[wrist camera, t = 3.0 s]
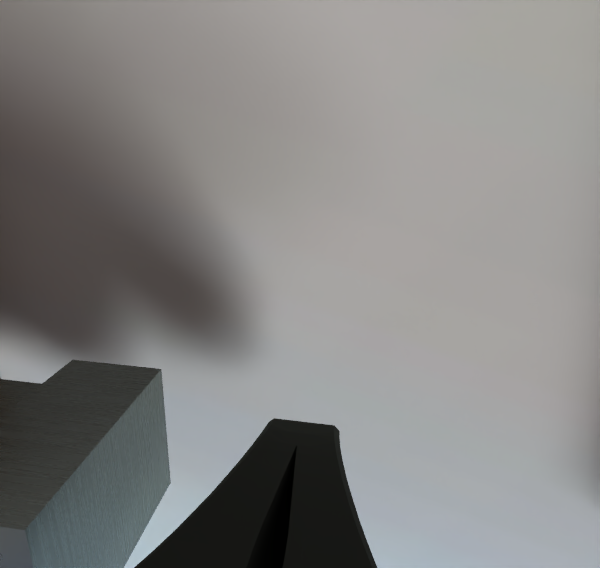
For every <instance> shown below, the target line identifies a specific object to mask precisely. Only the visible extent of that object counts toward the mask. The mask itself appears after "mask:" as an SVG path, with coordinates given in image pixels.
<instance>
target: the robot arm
mask: <svg viewBox="0 0 600 568" xmlns="http://www.w3.org/2000/svg"><path fill="white" fill-rule="evenodd" d="M134 568H377V566H376V564H375V561H374V558H373V556H372V553H371V551H370V548H369V545H368V543H367V540H366V538H365V535H364V532H363V529H362V526H361V524H360V521H359V518H358V515H357V511H356V508H355V505H354V502H353V499H352V496H351V492H350V489H349V485H348V482H347V478H346V474H345V470H344V465H343V461H342V455H341V449H340V440H339V430H338V429H337V428H336V427H335V426H333V425H325V424H316V423H308V422H299V421H291V420H282V419H273V420H271V421H270V422H269V423H268V424H267V426H266V427H265V428H264V430H263V431H262V433H261V434H260V435H259V437H258V438H257V439H256V441H255V442H254V443H253V445H252V446H251V447H250V448H249V450H248V451H247V452H246V453H245V455H244V456H243V457H242V458H241V460H240V461H239V462H238V463H237V464H236V466H235V467H234V468H233V469H232V470H231V471H230V472H229V474H228V475H227V476H226V477H225V478H224V479H223V481H222V482H221V483H220V484H219V485H218V486H217V487H216V489H215V490H214V491H213V492H212V493H211V494H210V495H209V496H208V497H207V498H206V499H205V500H204V501H203V502H202V503H201V504H200V505H199V506H198V508H197V509H196V510H195V511H194V512H193V513H192V514H191V515H190V516H189V517H188V518H187V519H186V520H185V521H184V522H183V523H182V524H181V525H180V526H179V527H178V528H177V529H176V530H175V531H174V532H173V533H172V534H171V535H170V536H169V537H168V538H166V539H165V540H164V541H163V542H162V543H161V544H160V545H159V546H158V547H157V548H156V549H155V550H154V551H153V552H151V553H150V554H149V555H148V556H147V557H146V558H145V559H144V560H142V561H141V562H140V563H139V564H138V565H137V566H136V567H134Z"/></svg>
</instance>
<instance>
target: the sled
mask: <svg viewBox="0 0 600 568" xmlns="http://www.w3.org/2000/svg"><path fill="white" fill-rule="evenodd" d="M170 483H171V482H170V470H169V457H168V445H167V433H166V421H165V409H164V397H163V384H162V372H161V369H155V368H146V367H136V366H127V365H117V364H108V363H98V362H89V361H79V360H72V361H70V362H69V363H68V364H67V365H65V366H64V367H63V368H62V369H60V370H59V371H58V372H57V373H55V374H54V375H53V376H52V377H50V378H49V379H48V380H46V381H45V382H44V383H43V384H38V383H30V382H21V381H12V380H3V379H0V568H124V566H125V564H126V562H127V561H128V559H129V557H130V555H131V553H132V552H133V550H134V548H135V546H136V544H137V542H138V541H139V539H140V537H141V535H142V533H143V532H144V530H145V528H146V526H147V524H148V523H149V521H150V519H151V517H152V515H153V513H154V512H155V510H156V508H157V506H158V504H159V503H160V501H161V499H162V497H163V495H164V493H165V492H166V490H167V488H168V486H169V484H170Z"/></svg>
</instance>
